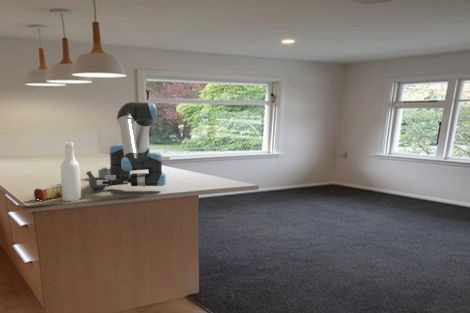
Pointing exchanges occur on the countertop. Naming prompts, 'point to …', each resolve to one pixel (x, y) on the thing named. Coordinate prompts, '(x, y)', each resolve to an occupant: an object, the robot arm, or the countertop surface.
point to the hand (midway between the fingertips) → (100, 179)
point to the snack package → (48, 192)
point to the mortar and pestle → (95, 183)
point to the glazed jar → (104, 173)
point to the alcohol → (70, 175)
